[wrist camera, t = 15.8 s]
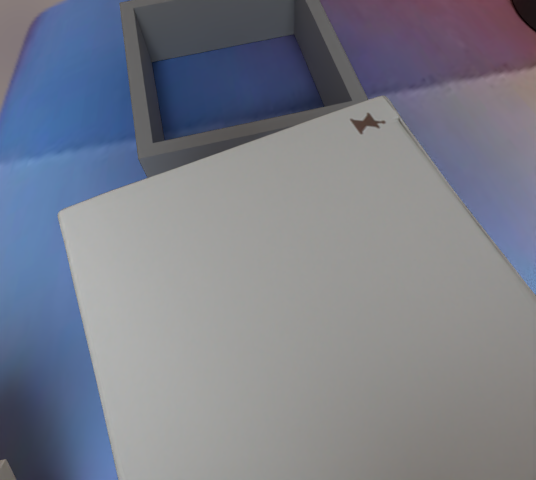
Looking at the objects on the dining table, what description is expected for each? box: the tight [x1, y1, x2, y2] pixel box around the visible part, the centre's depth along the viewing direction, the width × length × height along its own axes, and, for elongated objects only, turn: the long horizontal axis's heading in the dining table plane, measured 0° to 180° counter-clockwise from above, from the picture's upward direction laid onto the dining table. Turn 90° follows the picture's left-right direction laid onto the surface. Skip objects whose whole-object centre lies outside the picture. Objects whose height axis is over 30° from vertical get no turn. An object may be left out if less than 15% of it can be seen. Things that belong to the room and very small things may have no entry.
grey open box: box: [120, 0, 368, 178], centre depth 32 cm, size 15×26×5 cm, turn 14°
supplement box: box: [58, 96, 536, 480], centre depth 16 cm, size 10×9×17 cm
